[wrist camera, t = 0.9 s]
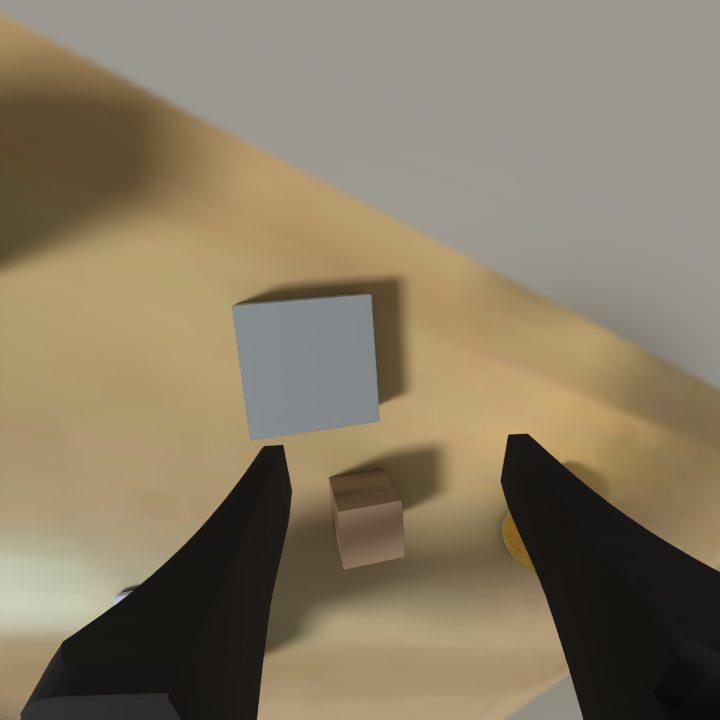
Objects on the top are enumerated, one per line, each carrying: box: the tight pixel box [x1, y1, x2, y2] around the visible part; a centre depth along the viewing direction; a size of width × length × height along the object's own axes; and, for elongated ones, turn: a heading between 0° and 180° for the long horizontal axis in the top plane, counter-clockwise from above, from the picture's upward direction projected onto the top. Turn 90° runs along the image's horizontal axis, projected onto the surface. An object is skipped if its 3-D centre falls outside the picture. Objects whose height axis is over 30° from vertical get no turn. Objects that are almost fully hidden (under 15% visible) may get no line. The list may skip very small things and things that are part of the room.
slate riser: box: [232, 293, 380, 440], centre depth 28 cm, size 9×9×3 cm
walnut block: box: [329, 469, 405, 570], centre depth 30 cm, size 4×4×5 cm
